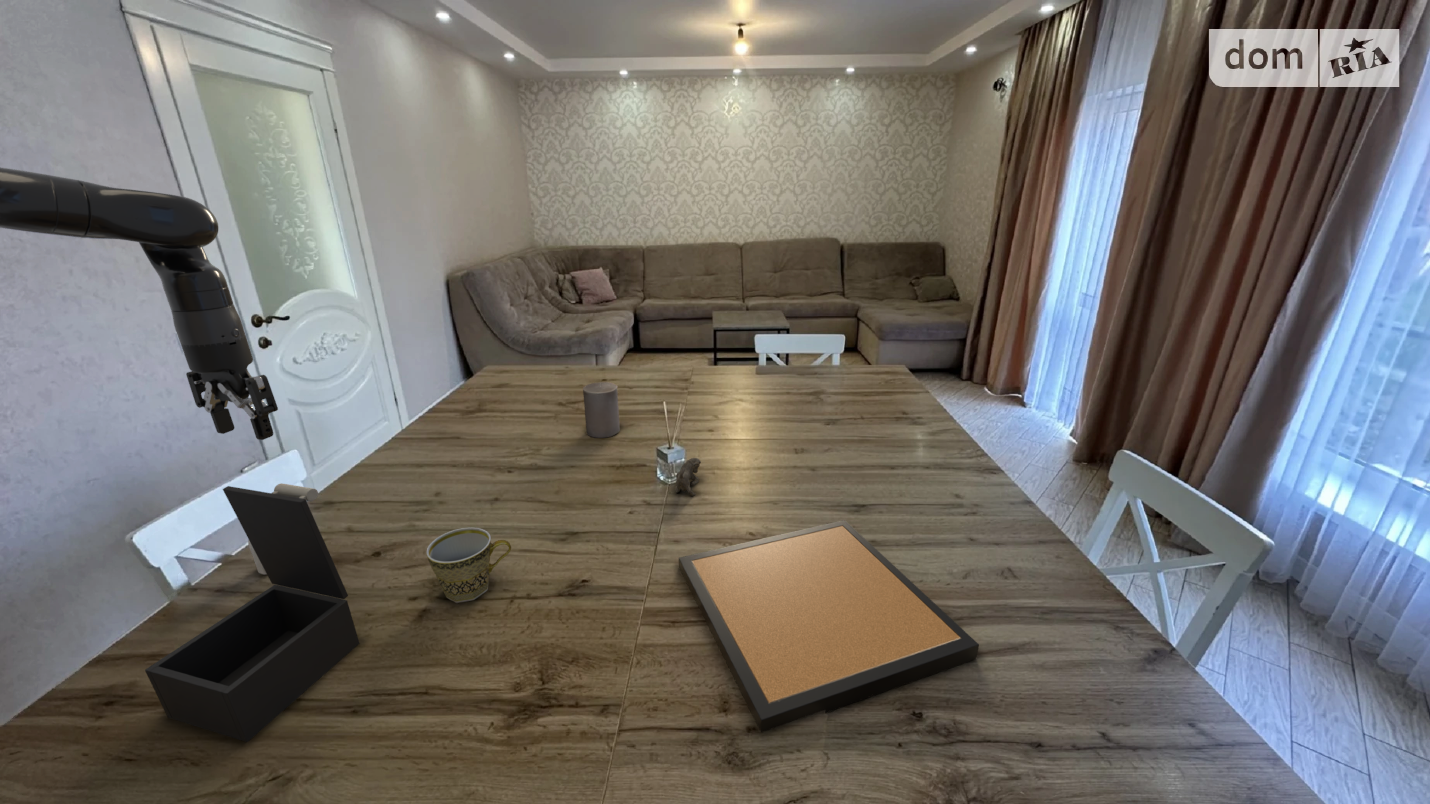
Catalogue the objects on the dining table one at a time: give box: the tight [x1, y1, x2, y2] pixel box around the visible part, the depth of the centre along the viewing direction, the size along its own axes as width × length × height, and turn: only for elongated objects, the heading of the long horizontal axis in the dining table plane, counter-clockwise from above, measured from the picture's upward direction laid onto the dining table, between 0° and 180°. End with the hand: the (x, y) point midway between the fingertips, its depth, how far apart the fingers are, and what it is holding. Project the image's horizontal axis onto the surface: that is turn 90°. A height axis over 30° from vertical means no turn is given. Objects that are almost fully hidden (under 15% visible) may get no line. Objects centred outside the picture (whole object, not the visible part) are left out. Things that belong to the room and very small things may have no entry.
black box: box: [144, 584, 360, 743], centre depth 77 cm, size 17×14×9 cm
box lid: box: [222, 482, 349, 600], centre depth 81 cm, size 18×14×5 cm
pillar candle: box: [582, 381, 621, 439], centre depth 158 cm, size 10×10×15 cm
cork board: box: [678, 519, 980, 733], centre depth 91 cm, size 36×3×35 cm
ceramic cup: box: [425, 527, 512, 604], centre depth 94 cm, size 13×10×10 cm
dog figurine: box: [675, 457, 702, 497], centre depth 129 cm, size 12×6×7 cm, turn 168°
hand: (246, 434), depth 89 cm, fingers open, 8 cm apart
